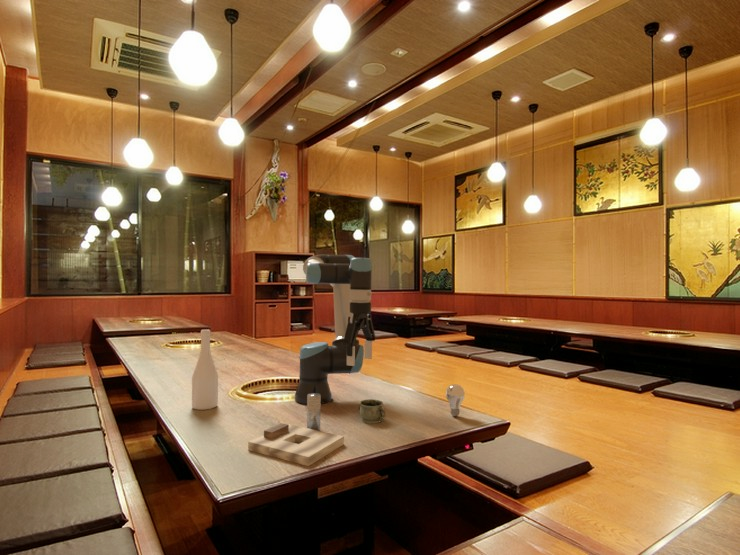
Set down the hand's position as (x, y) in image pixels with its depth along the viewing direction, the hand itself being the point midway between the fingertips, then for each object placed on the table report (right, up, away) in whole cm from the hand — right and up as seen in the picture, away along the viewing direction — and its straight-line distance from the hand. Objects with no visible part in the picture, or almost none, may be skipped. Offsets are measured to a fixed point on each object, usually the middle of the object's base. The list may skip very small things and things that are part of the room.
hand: (359, 362), depth 157 cm
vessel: (+4, -22, +4) cm, 23 cm away
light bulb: (+35, -22, +9) cm, 42 cm away
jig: (-18, -21, -22) cm, 36 cm away
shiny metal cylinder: (-15, -21, -8) cm, 27 cm away
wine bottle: (-61, -21, +17) cm, 66 cm away
